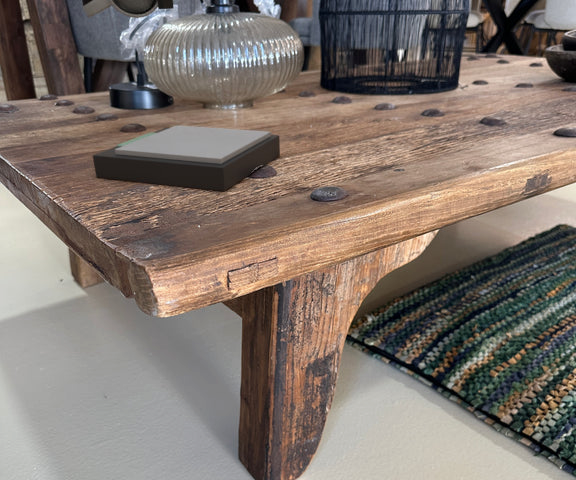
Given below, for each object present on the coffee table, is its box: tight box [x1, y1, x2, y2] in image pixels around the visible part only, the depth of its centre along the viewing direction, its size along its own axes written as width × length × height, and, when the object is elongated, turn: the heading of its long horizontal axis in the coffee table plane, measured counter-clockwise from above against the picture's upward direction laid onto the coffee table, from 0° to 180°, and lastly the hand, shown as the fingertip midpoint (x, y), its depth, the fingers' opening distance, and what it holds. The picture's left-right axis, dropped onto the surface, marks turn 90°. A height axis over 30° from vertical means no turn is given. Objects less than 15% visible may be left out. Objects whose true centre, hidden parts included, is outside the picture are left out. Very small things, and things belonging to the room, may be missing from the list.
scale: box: [92, 124, 281, 192], centre depth 66 cm, size 16×15×3 cm
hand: (128, 9), depth 79 cm, fingers closed on ceramic mug, 11 cm apart
